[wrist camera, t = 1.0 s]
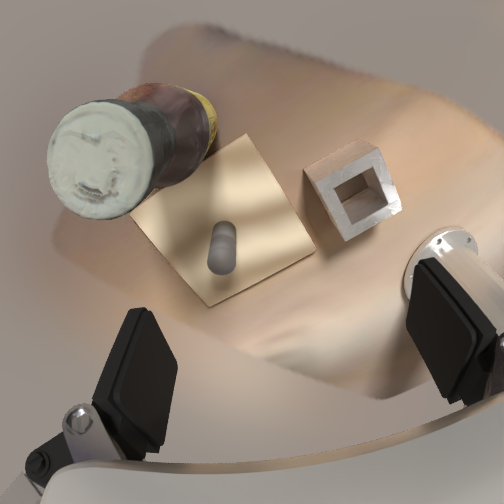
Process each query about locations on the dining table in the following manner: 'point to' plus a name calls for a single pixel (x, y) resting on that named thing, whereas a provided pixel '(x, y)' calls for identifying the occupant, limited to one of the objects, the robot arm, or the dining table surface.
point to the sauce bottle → (128, 148)
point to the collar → (365, 202)
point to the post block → (225, 223)
